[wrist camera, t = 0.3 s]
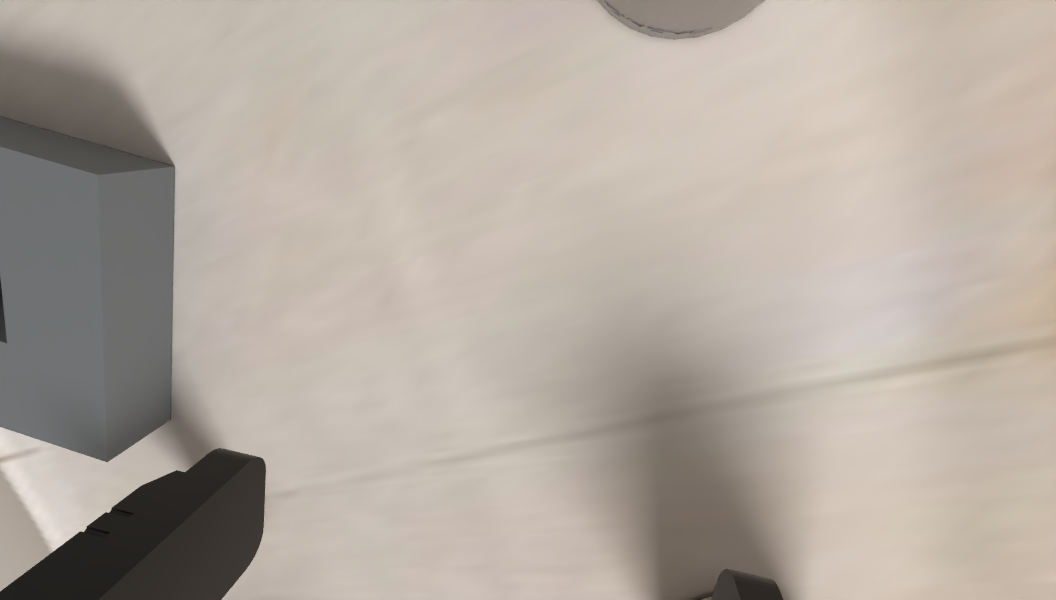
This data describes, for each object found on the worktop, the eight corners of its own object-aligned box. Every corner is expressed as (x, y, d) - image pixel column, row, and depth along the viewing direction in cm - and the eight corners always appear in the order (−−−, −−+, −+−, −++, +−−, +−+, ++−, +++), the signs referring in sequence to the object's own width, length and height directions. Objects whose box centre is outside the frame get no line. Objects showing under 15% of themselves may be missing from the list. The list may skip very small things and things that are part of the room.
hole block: (-94, 89, 30) (-212, 84, 25) (174, 166, 29) (98, 174, 24) (-56, 346, 35) (-147, 378, 31) (170, 419, 34) (107, 462, 30)
